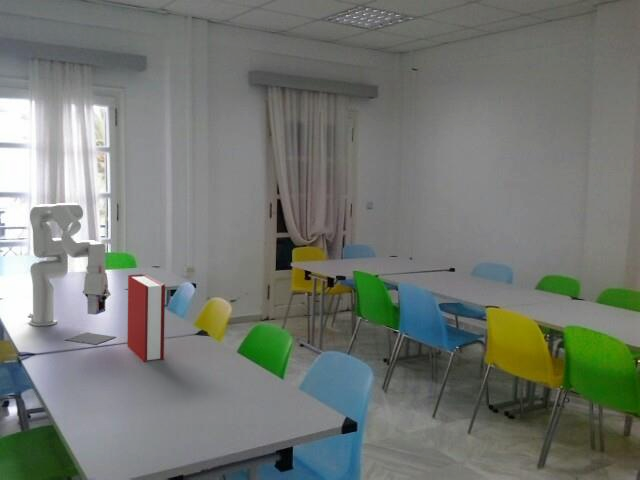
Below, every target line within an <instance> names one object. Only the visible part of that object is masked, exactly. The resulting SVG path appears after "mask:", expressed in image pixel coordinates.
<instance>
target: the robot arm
mask: <svg viewBox="0 0 640 480" xmlns="http://www.w3.org/2000/svg"><path fill="white" fill-rule="evenodd" d="M83 217H84V210H83V208H82V206H81V205H80V204H78V203H74V202H72V203H71V202H69V203H68V202H67V203H66V202H65V203H64V202H63V203H56V204H39V205H35V206H33V207H32V208H31V210H30V213H29V221H30V224H31V229H32V248H33V249H32V250H33V254H34V256H35V258H39V259H46V258H47V259H46V260H39V261H35V262H34V263H32V264H31V265H30V268H29V269H30V276H31V283H32V312H31V313H29V314H28V315H27V318H28V319H31V320H30V321H29V325H30V326H35V327H45V326H52V325H56V324H57V323H58V319H56V318H55V315H54V314H55V307H54V306H55V305H54V304H55V291H54V286H53V284H52V283H51V282H50V280H54V279H61V278H65V277H66V276H67V274H68V271H69V266H68V265H69V261H68V260H69V259H68V257H71V258H73V259H76V258H77V259H78V258H87V266H86V268H85V269H86V270H87V272H85V276H84V285H83V290H82V294H83V295H85V297H86V298H87V296H88V295H99V299H100V301H99V310H103V309H104V307H105V308H106V300H107V299H108V298H109V297H110V296H111V292H110V290H109V282H108V280H109V279H108V274H107V272H106V244H105V243H104V242H100V241H96V240H91V239H90V240H78V241H77V240H74V239H73V238H72V237H73V236H75V235H76V234H78V232H80V230H81V228H82V224H81V222H80V220H81V219H83ZM50 222H51V223H56V224H57V225H58V226H59V228H60V229H61V230H62V233H61V237H53V236H52V235H53V230H52V229H51V228H52V227H51V226H50V225H49V223H50ZM48 258H54V259H48ZM102 297H103V298H102Z"/></svg>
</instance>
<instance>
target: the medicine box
mask: <svg viewBox="0 0 640 480" xmlns="http://www.w3.org/2000/svg"><path fill="white" fill-rule="evenodd" d="M102 298H103V297H102ZM86 300H87V303H86V304H87V306H86V307H87V315H99V314H101V313H105V312H106V306H105V307H104V309H103V310H99V301H100V299H99V295H88V296H87V297H86Z"/></svg>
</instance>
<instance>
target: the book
mask: <svg viewBox="0 0 640 480" xmlns="http://www.w3.org/2000/svg"><path fill="white" fill-rule="evenodd" d="M127 278H128V279H127V341H126V342H127V347H128V348H129V350H131V351H132V352H133V353H134V354H135V355H136V356H137V357H138V358H139V359H140V360H142V362H144V363H146V362H147V361H150V360H158V359H159V360H163V361H164V360H165V359H164V357H165V315H166V314H165V311H166V310H165V308H166V307H165V305H166V304H165V301H166V284H165V283H163V282H161V281H160V280H158V279H155V278H154V277H152V276H149V275H148V274H143V273H141V274H130V275H127Z"/></svg>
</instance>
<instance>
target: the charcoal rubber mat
mask: <svg viewBox="0 0 640 480" xmlns="http://www.w3.org/2000/svg"><path fill="white" fill-rule="evenodd" d="M116 338H117V336H113V335H107V334H106V335H105V334H99V333H92V332H83V333H81V334H78V335H74V336H71V337H68V338H65V339H64V341H66V342H73V341H74V342H75V343H79V342H81V343H80V344H86V343H87V345H94V346H97V345H100V344H102V343H105V342H108V341H110V340H114V339H116Z"/></svg>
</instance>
